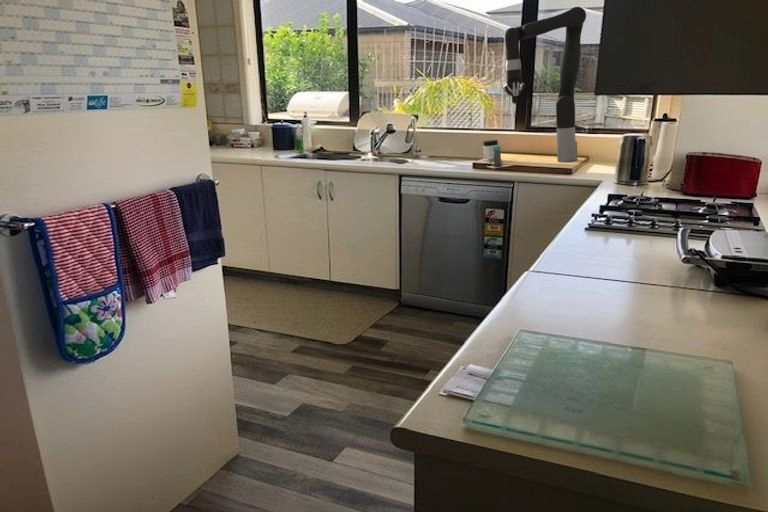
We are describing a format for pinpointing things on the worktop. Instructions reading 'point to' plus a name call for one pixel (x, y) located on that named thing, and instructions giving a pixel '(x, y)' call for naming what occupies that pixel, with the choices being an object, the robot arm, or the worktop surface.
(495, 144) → the jar
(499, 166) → the paper
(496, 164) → the marker
